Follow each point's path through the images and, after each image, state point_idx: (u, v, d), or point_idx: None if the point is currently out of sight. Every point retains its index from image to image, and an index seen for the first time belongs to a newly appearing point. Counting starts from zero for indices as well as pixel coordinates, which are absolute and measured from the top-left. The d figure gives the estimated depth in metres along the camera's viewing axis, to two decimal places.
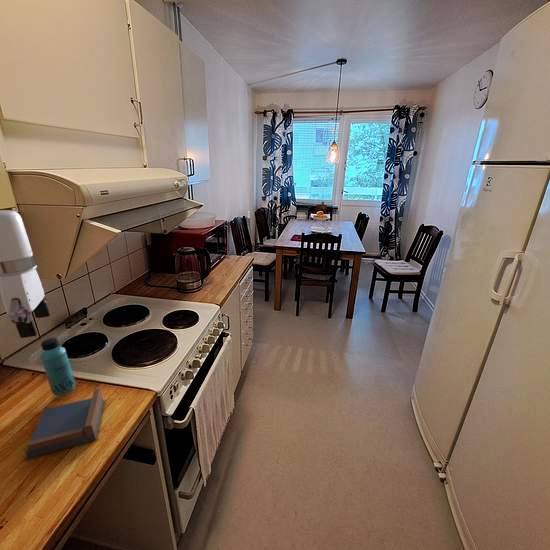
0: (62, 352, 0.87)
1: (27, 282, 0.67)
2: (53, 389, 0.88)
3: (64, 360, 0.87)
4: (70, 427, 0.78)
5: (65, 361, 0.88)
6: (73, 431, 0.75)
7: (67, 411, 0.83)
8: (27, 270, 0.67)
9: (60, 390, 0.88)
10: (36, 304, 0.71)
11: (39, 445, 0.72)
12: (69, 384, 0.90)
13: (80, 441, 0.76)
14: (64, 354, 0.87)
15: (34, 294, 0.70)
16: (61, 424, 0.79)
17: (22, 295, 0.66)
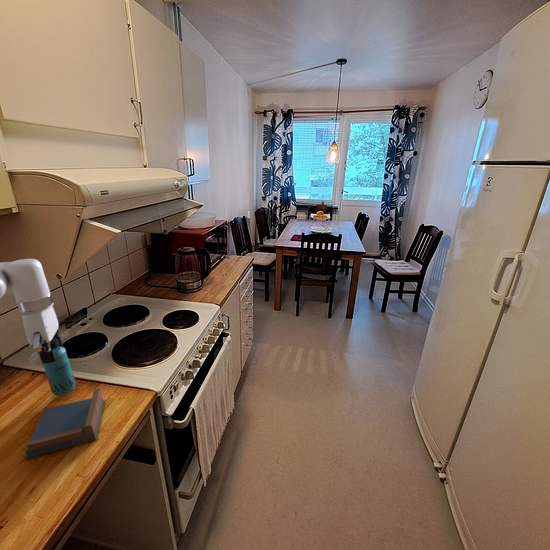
0: (62, 352, 0.86)
1: (46, 318, 0.80)
2: (53, 389, 0.88)
3: (64, 360, 0.87)
4: (70, 427, 0.78)
5: (65, 361, 0.88)
6: (73, 431, 0.75)
7: (67, 411, 0.83)
8: (46, 308, 0.79)
9: (60, 390, 0.88)
10: (53, 335, 0.83)
11: (39, 445, 0.72)
12: (69, 384, 0.90)
13: (80, 441, 0.76)
14: (64, 354, 0.87)
15: (51, 327, 0.82)
16: (61, 424, 0.79)
17: (42, 329, 0.79)
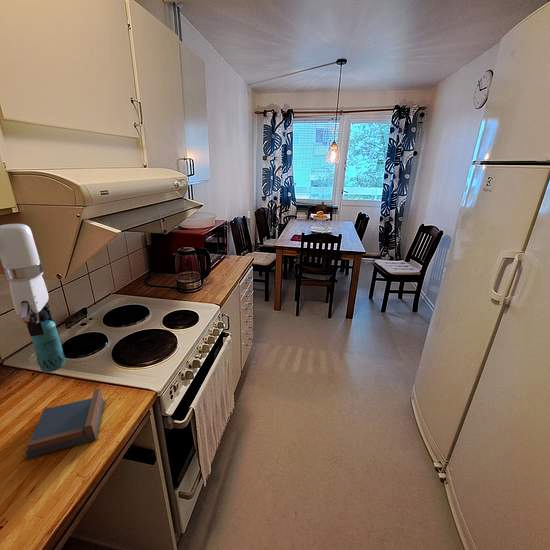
0: (51, 325, 0.83)
1: (35, 287, 0.76)
2: (41, 365, 0.84)
3: (53, 334, 0.83)
4: (70, 427, 0.78)
5: (55, 335, 0.84)
6: (73, 431, 0.75)
7: (67, 411, 0.83)
8: (35, 276, 0.76)
9: (49, 366, 0.84)
10: (42, 306, 0.80)
11: (39, 445, 0.72)
12: (58, 360, 0.86)
13: (80, 441, 0.76)
14: (54, 328, 0.83)
15: (40, 297, 0.79)
16: (61, 424, 0.79)
17: (30, 298, 0.75)
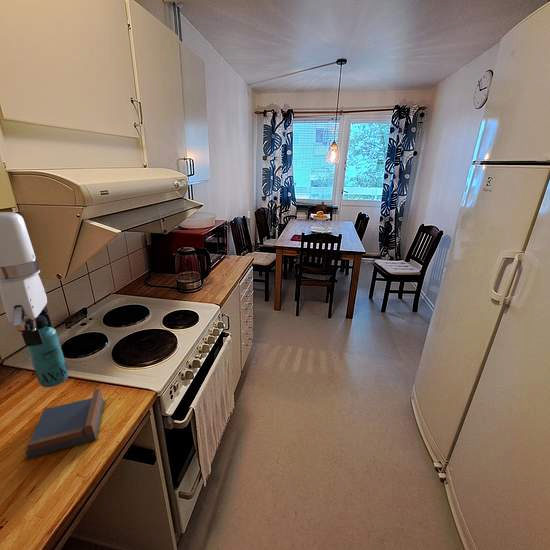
0: (51, 333, 0.70)
1: (30, 288, 0.64)
2: (40, 379, 0.72)
3: (54, 343, 0.71)
4: (70, 427, 0.78)
5: (55, 345, 0.71)
6: (73, 431, 0.75)
7: (67, 411, 0.83)
8: (30, 275, 0.63)
9: (49, 380, 0.72)
10: (39, 311, 0.67)
11: (39, 445, 0.72)
12: (60, 373, 0.74)
13: (80, 441, 0.76)
14: (54, 336, 0.71)
15: (37, 300, 0.66)
16: (61, 424, 0.79)
17: (25, 301, 0.62)
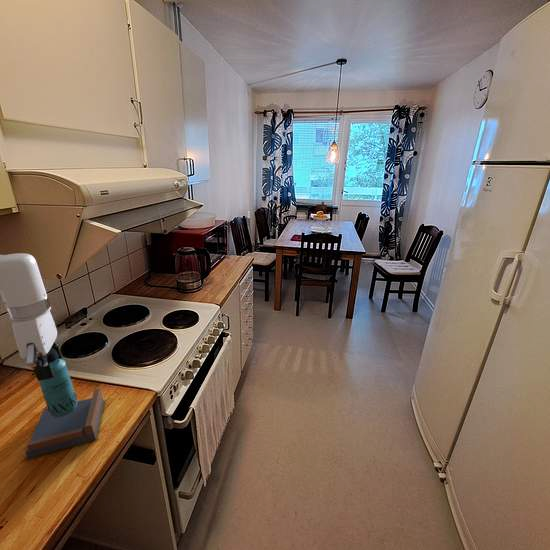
0: (61, 366, 0.72)
1: (42, 326, 0.66)
2: (51, 410, 0.74)
3: (64, 375, 0.73)
4: (70, 427, 0.78)
5: (65, 376, 0.73)
6: (73, 431, 0.75)
7: None
8: (42, 313, 0.65)
9: (59, 411, 0.74)
10: (50, 346, 0.69)
11: (39, 445, 0.72)
12: (70, 403, 0.76)
13: (80, 441, 0.76)
14: (64, 368, 0.73)
15: (48, 336, 0.68)
16: (61, 424, 0.79)
17: (37, 339, 0.64)
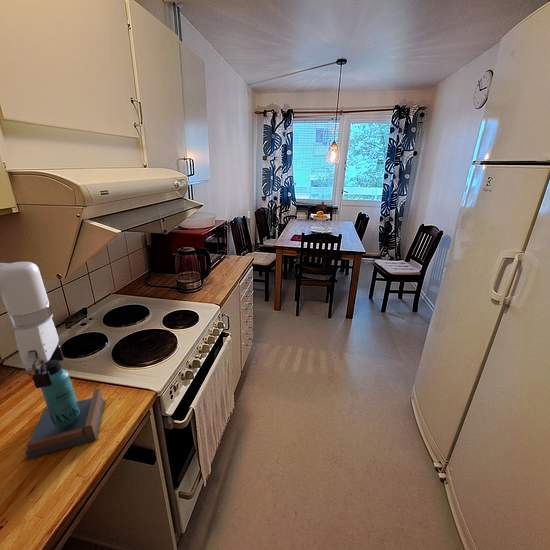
0: (65, 376, 0.73)
1: (44, 333, 0.66)
2: (54, 420, 0.75)
3: (67, 386, 0.74)
4: (70, 427, 0.78)
5: (68, 387, 0.75)
6: (73, 431, 0.75)
7: None
8: (44, 321, 0.66)
9: (62, 421, 0.75)
10: (52, 353, 0.70)
11: (39, 445, 0.72)
12: (73, 413, 0.77)
13: (80, 441, 0.76)
14: (67, 379, 0.74)
15: (50, 343, 0.69)
16: None
17: (39, 346, 0.65)
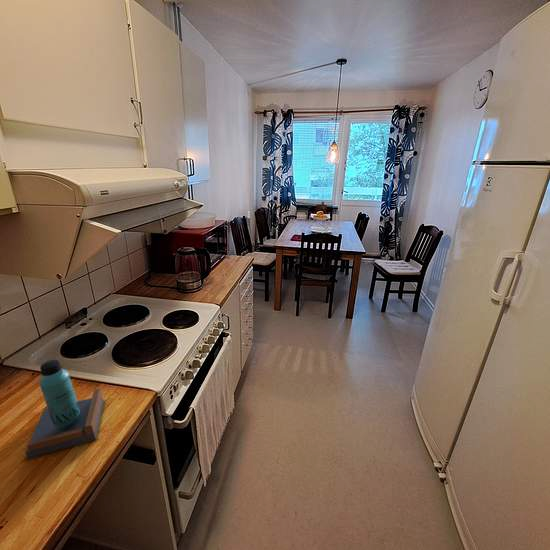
0: (65, 376, 0.74)
1: None
2: (54, 420, 0.75)
3: (67, 386, 0.74)
4: (70, 427, 0.78)
5: (68, 387, 0.75)
6: (73, 431, 0.75)
7: None
8: None
9: (62, 421, 0.75)
10: None
11: (39, 445, 0.72)
12: (73, 413, 0.77)
13: (80, 441, 0.76)
14: (67, 379, 0.74)
15: None
16: None
17: None
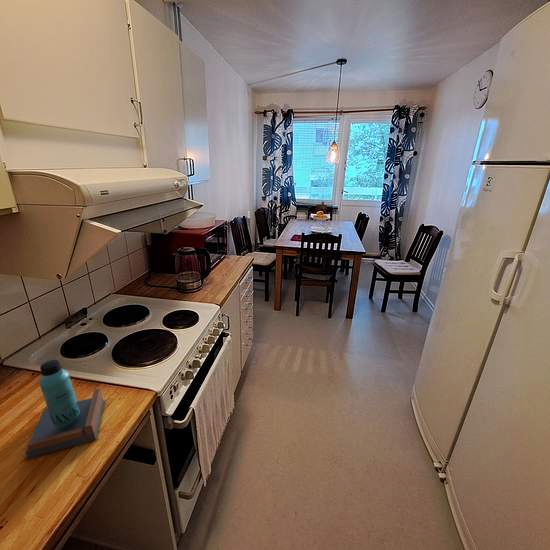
0: (65, 376, 0.73)
1: None
2: (54, 420, 0.75)
3: (67, 386, 0.74)
4: (70, 427, 0.78)
5: (68, 387, 0.75)
6: (73, 431, 0.75)
7: None
8: None
9: (62, 421, 0.75)
10: None
11: (39, 445, 0.72)
12: (73, 413, 0.77)
13: (80, 441, 0.76)
14: (67, 379, 0.74)
15: None
16: None
17: None
